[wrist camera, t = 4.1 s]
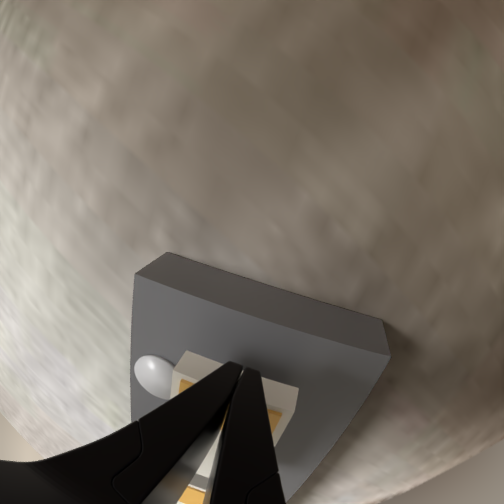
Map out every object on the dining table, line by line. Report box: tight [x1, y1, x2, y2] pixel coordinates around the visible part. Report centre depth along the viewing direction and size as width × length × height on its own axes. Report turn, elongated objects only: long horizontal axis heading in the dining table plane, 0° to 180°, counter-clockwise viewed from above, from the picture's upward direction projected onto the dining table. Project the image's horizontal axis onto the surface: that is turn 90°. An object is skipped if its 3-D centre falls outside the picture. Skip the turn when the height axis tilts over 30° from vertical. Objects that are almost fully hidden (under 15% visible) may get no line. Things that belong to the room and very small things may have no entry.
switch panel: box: [130, 252, 391, 502], centre depth 14 cm, size 20×9×3 cm, turn 166°
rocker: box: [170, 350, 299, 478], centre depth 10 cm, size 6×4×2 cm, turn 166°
